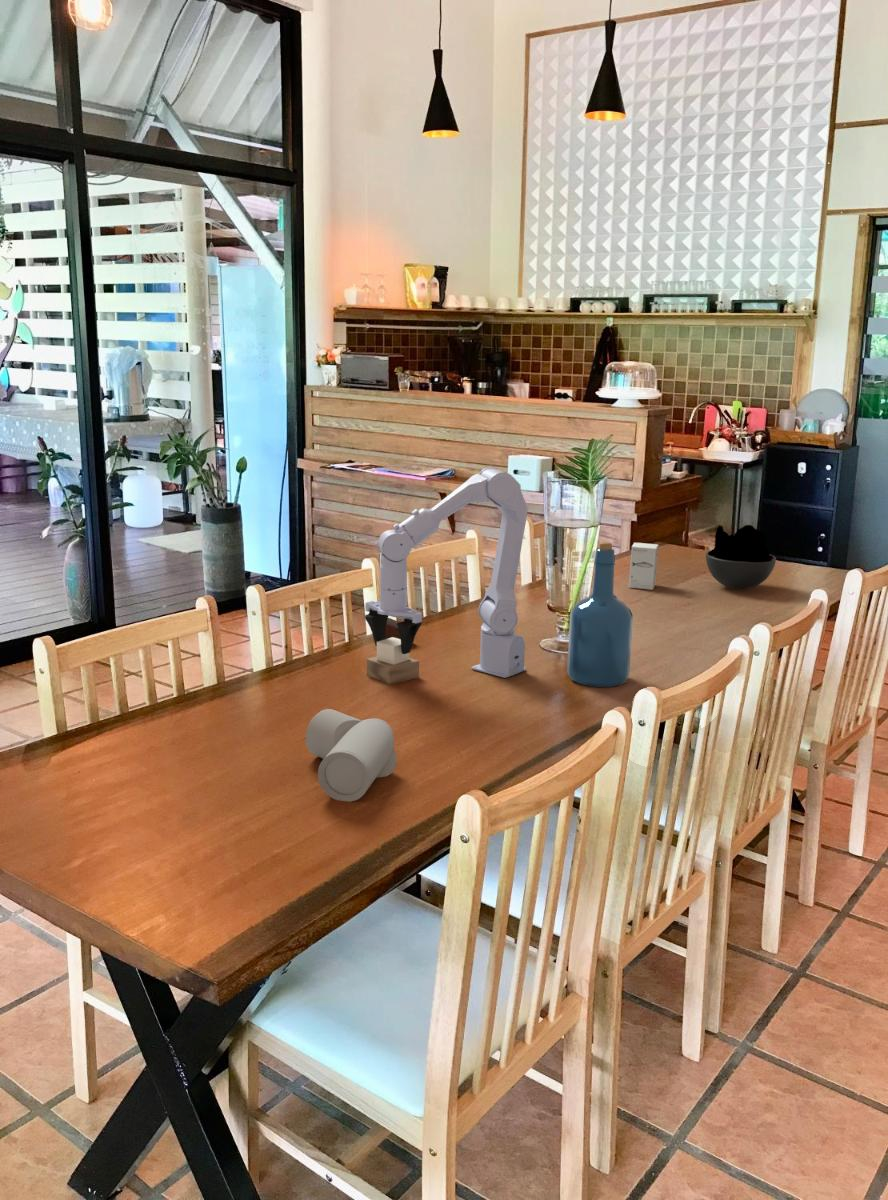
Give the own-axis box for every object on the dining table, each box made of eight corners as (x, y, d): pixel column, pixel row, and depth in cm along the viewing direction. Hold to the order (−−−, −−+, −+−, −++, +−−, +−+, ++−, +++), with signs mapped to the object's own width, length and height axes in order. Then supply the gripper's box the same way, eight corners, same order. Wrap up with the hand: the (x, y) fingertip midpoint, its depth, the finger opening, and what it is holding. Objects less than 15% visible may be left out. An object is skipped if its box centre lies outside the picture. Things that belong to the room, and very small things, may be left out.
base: (418, 678, 222) (419, 660, 221) (389, 686, 217) (389, 668, 216) (395, 669, 228) (395, 652, 227) (366, 676, 223) (366, 658, 222)
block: (409, 659, 222) (409, 641, 221) (393, 664, 218) (394, 646, 217) (392, 654, 225) (392, 637, 224) (376, 659, 221) (376, 641, 220)
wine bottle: (627, 691, 216) (637, 550, 208) (564, 686, 218) (571, 546, 211) (629, 671, 229) (638, 538, 221) (569, 666, 231) (576, 534, 224)
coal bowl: (780, 587, 311) (786, 525, 306) (762, 600, 294) (768, 535, 290) (715, 577, 321) (720, 518, 316) (693, 590, 304) (699, 527, 300)
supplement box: (627, 588, 305) (630, 546, 302) (631, 582, 312) (633, 541, 309) (653, 590, 303) (656, 548, 300) (655, 585, 310) (658, 543, 307)
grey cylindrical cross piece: (432, 770, 172) (351, 738, 185) (423, 715, 168) (341, 686, 181) (355, 825, 160) (274, 787, 174) (343, 768, 156) (262, 733, 169)
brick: (372, 637, 251) (372, 619, 250) (384, 634, 254) (385, 616, 253) (402, 647, 244) (402, 628, 243) (414, 644, 246) (414, 625, 245)
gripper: (355, 584, 219) (355, 646, 223) (406, 596, 210) (405, 660, 214) (378, 579, 224) (378, 639, 228) (428, 590, 216) (427, 653, 219)
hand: (392, 649), depth 221 cm, fingers open, 7 cm apart
